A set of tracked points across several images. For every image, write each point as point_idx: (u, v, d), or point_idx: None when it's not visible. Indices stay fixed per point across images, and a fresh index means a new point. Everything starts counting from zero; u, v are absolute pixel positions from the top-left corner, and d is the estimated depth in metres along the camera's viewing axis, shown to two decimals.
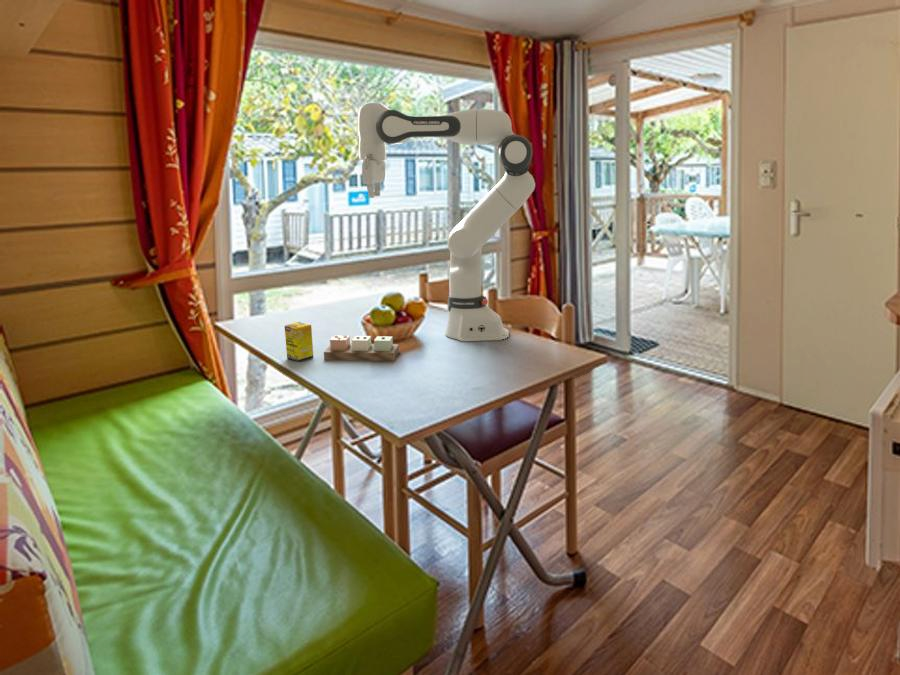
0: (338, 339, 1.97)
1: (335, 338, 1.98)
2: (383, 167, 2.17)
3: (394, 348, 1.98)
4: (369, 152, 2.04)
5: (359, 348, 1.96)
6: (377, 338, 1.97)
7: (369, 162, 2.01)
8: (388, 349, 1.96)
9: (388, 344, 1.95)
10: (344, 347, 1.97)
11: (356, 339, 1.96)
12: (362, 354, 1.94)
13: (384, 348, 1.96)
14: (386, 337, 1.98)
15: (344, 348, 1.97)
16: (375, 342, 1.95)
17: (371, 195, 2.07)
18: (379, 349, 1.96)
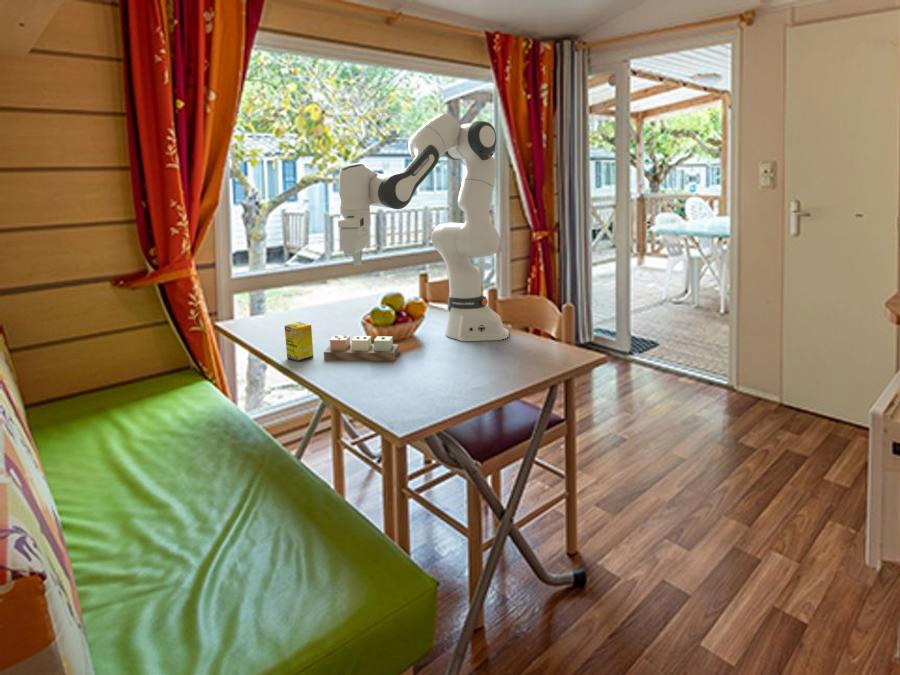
0: (338, 339, 1.97)
1: (335, 338, 1.98)
2: None
3: (394, 348, 1.98)
4: None
5: (359, 348, 1.96)
6: (377, 338, 1.97)
7: None
8: (388, 349, 1.96)
9: (388, 344, 1.95)
10: (344, 347, 1.97)
11: (356, 339, 1.96)
12: (362, 354, 1.94)
13: (384, 348, 1.96)
14: (386, 337, 1.98)
15: (344, 348, 1.97)
16: (375, 342, 1.95)
17: None
18: (379, 349, 1.96)
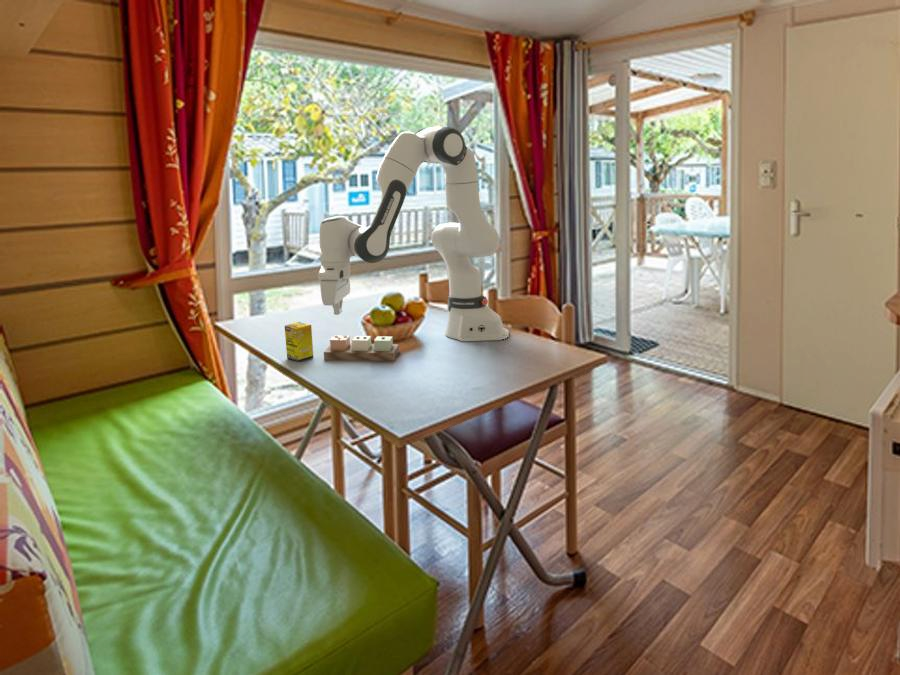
0: (338, 339, 1.97)
1: (335, 338, 1.98)
2: None
3: (394, 348, 1.98)
4: None
5: (359, 348, 1.96)
6: (377, 338, 1.97)
7: None
8: (388, 349, 1.96)
9: (388, 344, 1.95)
10: (344, 347, 1.97)
11: (356, 339, 1.96)
12: (362, 354, 1.94)
13: (384, 348, 1.96)
14: (386, 337, 1.98)
15: (344, 348, 1.97)
16: (375, 342, 1.95)
17: None
18: (379, 349, 1.96)
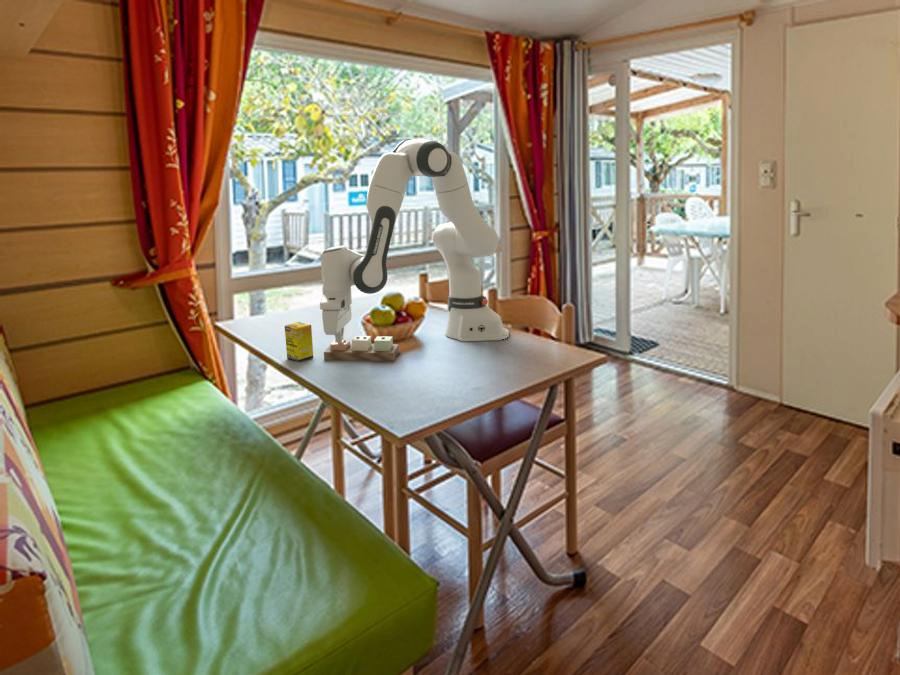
0: (338, 343, 1.97)
1: (335, 342, 1.98)
2: None
3: (394, 348, 1.98)
4: None
5: (359, 348, 1.96)
6: (377, 338, 1.97)
7: None
8: (388, 349, 1.96)
9: (388, 344, 1.95)
10: None
11: (356, 339, 1.96)
12: (362, 354, 1.94)
13: (384, 348, 1.96)
14: (386, 337, 1.98)
15: None
16: (375, 342, 1.95)
17: None
18: (379, 349, 1.96)
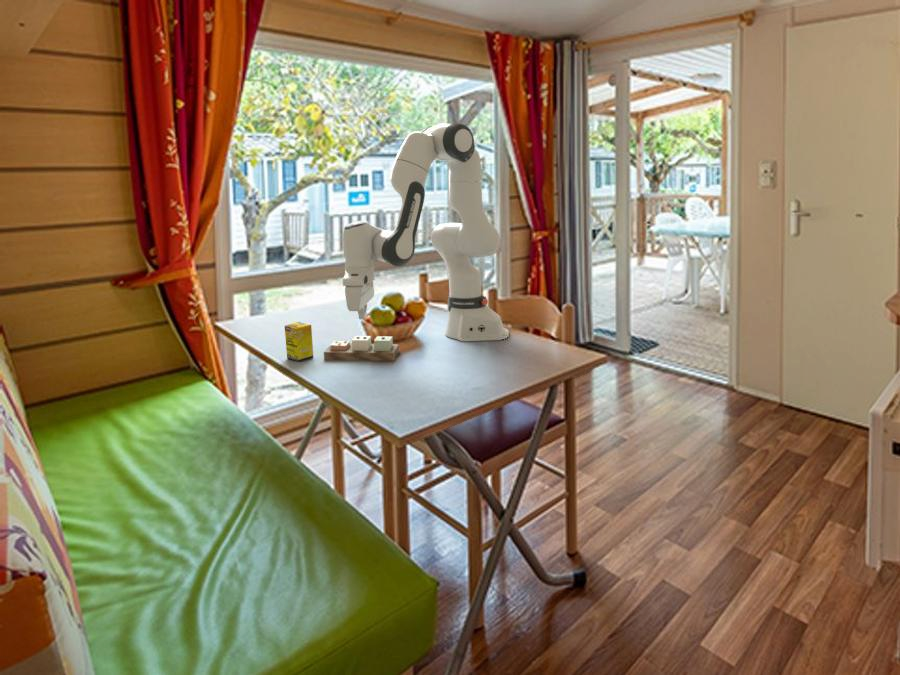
0: (338, 344, 1.97)
1: (335, 343, 1.98)
2: None
3: (394, 348, 1.98)
4: None
5: (359, 348, 1.96)
6: (377, 338, 1.97)
7: None
8: (388, 349, 1.96)
9: (388, 344, 1.95)
10: None
11: (356, 339, 1.96)
12: (362, 354, 1.94)
13: (384, 348, 1.96)
14: (386, 337, 1.98)
15: None
16: (375, 342, 1.95)
17: None
18: (379, 349, 1.96)
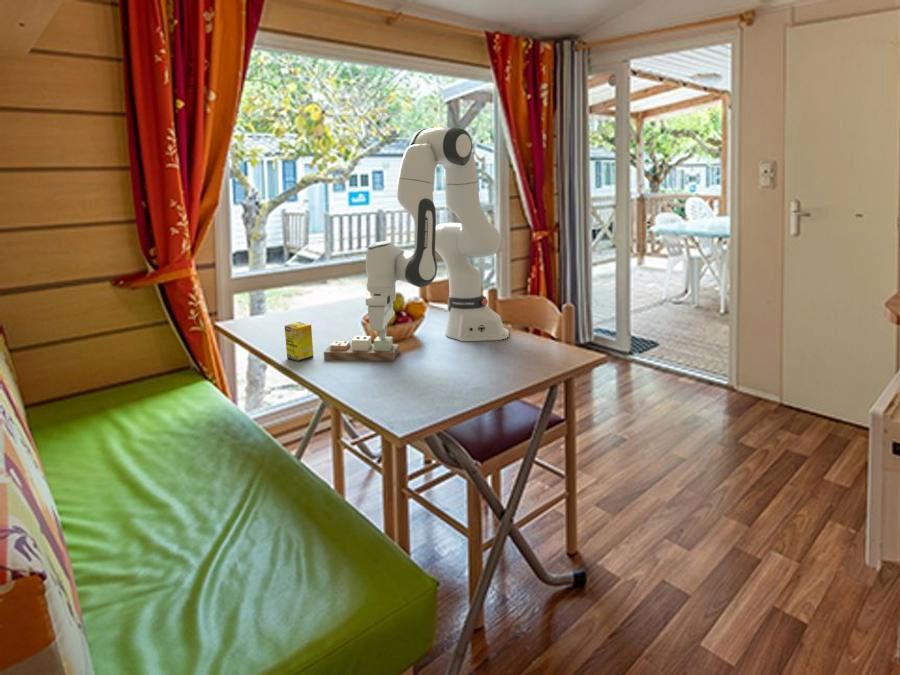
0: (338, 344, 1.97)
1: (335, 343, 1.98)
2: None
3: (394, 348, 1.98)
4: None
5: (359, 348, 1.96)
6: (377, 338, 1.97)
7: None
8: (388, 349, 1.96)
9: (388, 344, 1.95)
10: None
11: (356, 339, 1.96)
12: (362, 354, 1.94)
13: (384, 348, 1.96)
14: (386, 337, 1.98)
15: None
16: (375, 342, 1.95)
17: None
18: (379, 349, 1.96)
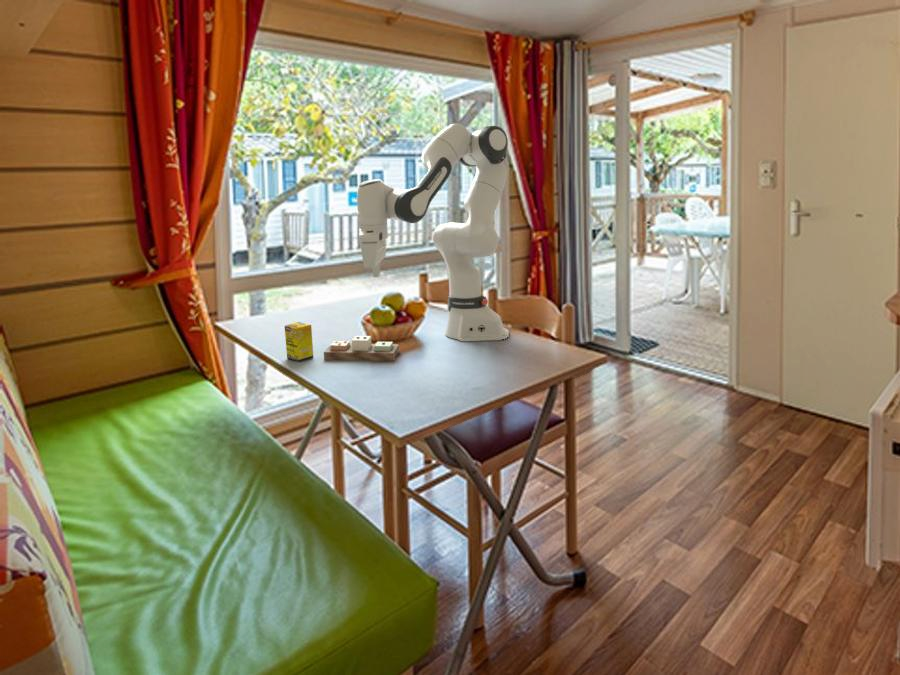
0: (338, 344, 1.97)
1: (335, 343, 1.98)
2: None
3: (394, 348, 1.98)
4: None
5: (359, 348, 1.96)
6: (377, 343, 1.98)
7: None
8: None
9: (388, 349, 1.96)
10: None
11: (356, 339, 1.96)
12: (362, 354, 1.94)
13: None
14: (386, 342, 1.99)
15: None
16: (375, 347, 1.96)
17: None
18: None
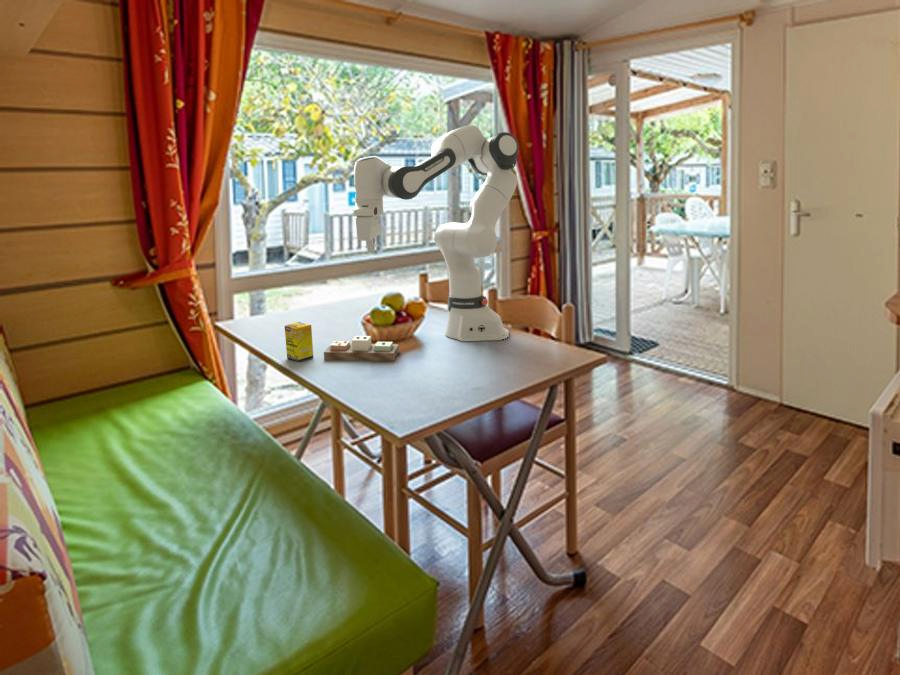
0: (338, 344, 1.97)
1: (335, 343, 1.98)
2: None
3: (394, 348, 1.98)
4: None
5: (359, 348, 1.96)
6: (377, 343, 1.98)
7: None
8: None
9: (388, 349, 1.96)
10: None
11: (356, 339, 1.96)
12: (362, 354, 1.94)
13: None
14: (386, 342, 1.99)
15: None
16: (375, 347, 1.96)
17: None
18: None
